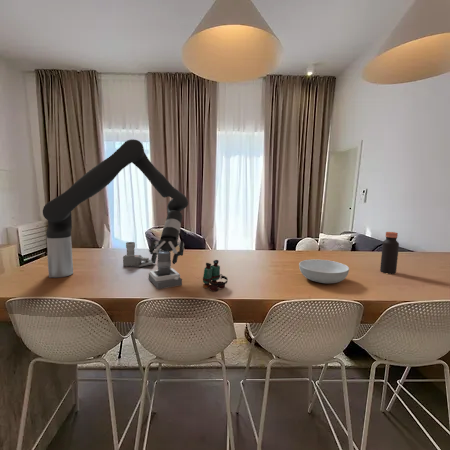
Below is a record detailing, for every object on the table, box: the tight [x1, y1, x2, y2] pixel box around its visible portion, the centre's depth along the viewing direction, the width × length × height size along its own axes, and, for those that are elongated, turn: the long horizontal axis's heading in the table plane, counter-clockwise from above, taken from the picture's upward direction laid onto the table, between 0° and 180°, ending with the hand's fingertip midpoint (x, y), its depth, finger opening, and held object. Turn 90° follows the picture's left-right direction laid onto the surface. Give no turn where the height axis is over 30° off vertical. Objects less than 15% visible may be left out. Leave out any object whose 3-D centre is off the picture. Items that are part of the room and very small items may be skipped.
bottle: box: [379, 231, 400, 275], centre depth 132 cm, size 7×7×20 cm
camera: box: [122, 241, 154, 268], centre depth 137 cm, size 9×12×15 cm
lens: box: [156, 251, 172, 277], centre depth 113 cm, size 6×6×10 cm
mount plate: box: [148, 267, 183, 290], centre depth 114 cm, size 10×14×4 cm
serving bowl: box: [298, 258, 350, 284], centre depth 120 cm, size 21×21×7 cm
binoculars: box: [202, 259, 229, 292], centre depth 107 cm, size 9×11×10 cm
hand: (163, 262), depth 111 cm, fingers open, 8 cm apart
